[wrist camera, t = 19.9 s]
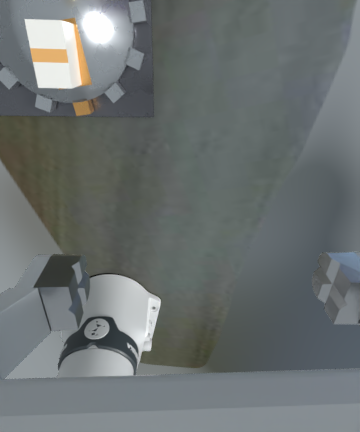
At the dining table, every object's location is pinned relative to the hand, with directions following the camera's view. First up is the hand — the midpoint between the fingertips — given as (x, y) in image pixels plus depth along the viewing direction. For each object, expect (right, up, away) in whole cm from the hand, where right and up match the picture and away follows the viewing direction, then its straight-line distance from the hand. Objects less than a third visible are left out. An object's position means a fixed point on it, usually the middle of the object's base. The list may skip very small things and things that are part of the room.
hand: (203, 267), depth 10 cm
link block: (-14, +20, +22) cm, 33 cm away
